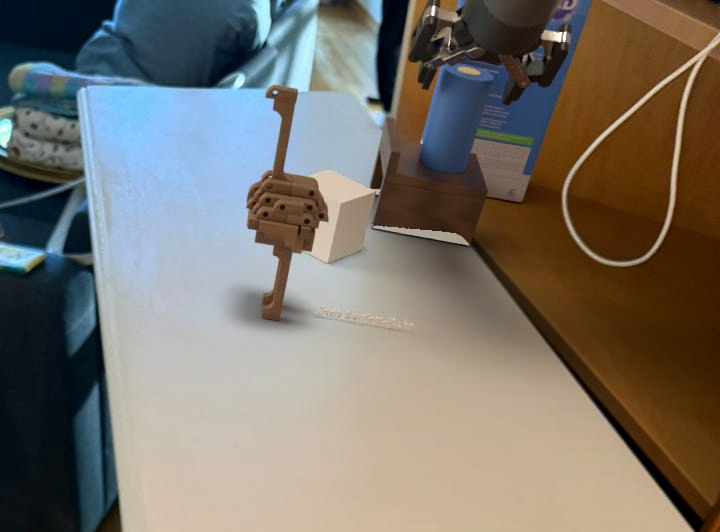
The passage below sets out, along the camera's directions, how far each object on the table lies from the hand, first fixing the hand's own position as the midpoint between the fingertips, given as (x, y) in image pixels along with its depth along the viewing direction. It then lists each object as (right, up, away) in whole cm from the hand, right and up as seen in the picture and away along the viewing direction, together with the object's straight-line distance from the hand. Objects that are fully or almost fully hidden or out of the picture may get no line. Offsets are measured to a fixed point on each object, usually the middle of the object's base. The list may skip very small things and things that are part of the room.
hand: (465, 88), depth 95 cm
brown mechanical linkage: (-16, -27, -10) cm, 33 cm away
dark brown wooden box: (-3, -9, +10) cm, 14 cm away
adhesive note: (-15, -16, +1) cm, 22 cm away
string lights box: (+5, 0, +20) cm, 21 cm away
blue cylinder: (-1, -5, +6) cm, 8 cm away
